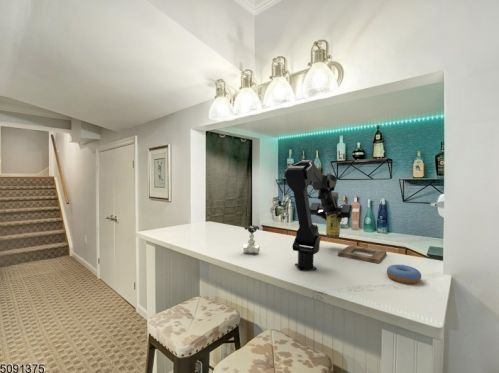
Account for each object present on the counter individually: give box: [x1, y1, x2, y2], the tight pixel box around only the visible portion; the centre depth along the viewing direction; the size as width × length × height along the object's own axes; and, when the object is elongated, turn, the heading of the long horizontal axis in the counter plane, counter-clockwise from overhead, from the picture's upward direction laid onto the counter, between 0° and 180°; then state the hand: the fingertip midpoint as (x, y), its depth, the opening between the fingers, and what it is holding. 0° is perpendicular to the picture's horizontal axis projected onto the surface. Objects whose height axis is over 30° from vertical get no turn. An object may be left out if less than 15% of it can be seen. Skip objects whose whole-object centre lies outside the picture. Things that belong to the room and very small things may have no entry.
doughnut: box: [386, 264, 422, 285], centre depth 86 cm, size 10×10×5 cm
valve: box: [243, 224, 260, 255], centre depth 113 cm, size 7×7×12 cm
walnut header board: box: [337, 244, 387, 264], centre depth 113 cm, size 16×16×2 cm
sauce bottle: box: [325, 199, 341, 239], centre depth 122 cm, size 7×6×20 cm
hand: (333, 220), depth 124 cm, fingers closed on sauce bottle, 6 cm apart
